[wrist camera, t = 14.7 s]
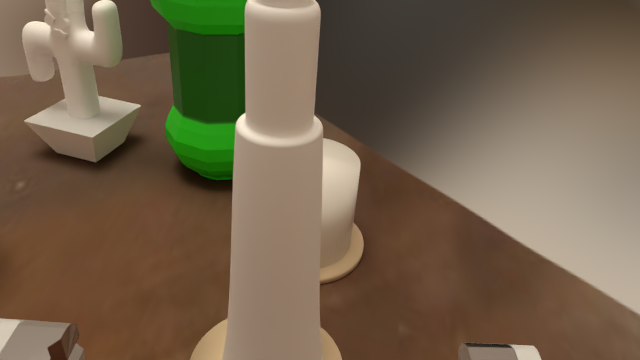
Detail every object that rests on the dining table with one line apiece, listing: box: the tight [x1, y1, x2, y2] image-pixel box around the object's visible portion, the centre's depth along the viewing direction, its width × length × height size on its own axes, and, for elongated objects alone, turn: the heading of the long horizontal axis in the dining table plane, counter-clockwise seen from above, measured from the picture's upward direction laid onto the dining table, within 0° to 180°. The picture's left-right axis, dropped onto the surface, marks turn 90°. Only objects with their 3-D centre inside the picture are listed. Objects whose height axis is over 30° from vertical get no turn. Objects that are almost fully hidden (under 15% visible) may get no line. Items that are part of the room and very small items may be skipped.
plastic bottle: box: [150, 0, 247, 180], centre depth 44 cm, size 10×10×25 cm
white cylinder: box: [320, 138, 360, 268], centre depth 39 cm, size 7×7×7 cm
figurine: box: [22, 0, 141, 162], centre depth 48 cm, size 7×9×15 cm
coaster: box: [320, 223, 364, 284], centre depth 41 cm, size 9×9×1 cm
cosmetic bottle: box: [222, 0, 323, 360], centre depth 25 cm, size 6×6×22 cm
